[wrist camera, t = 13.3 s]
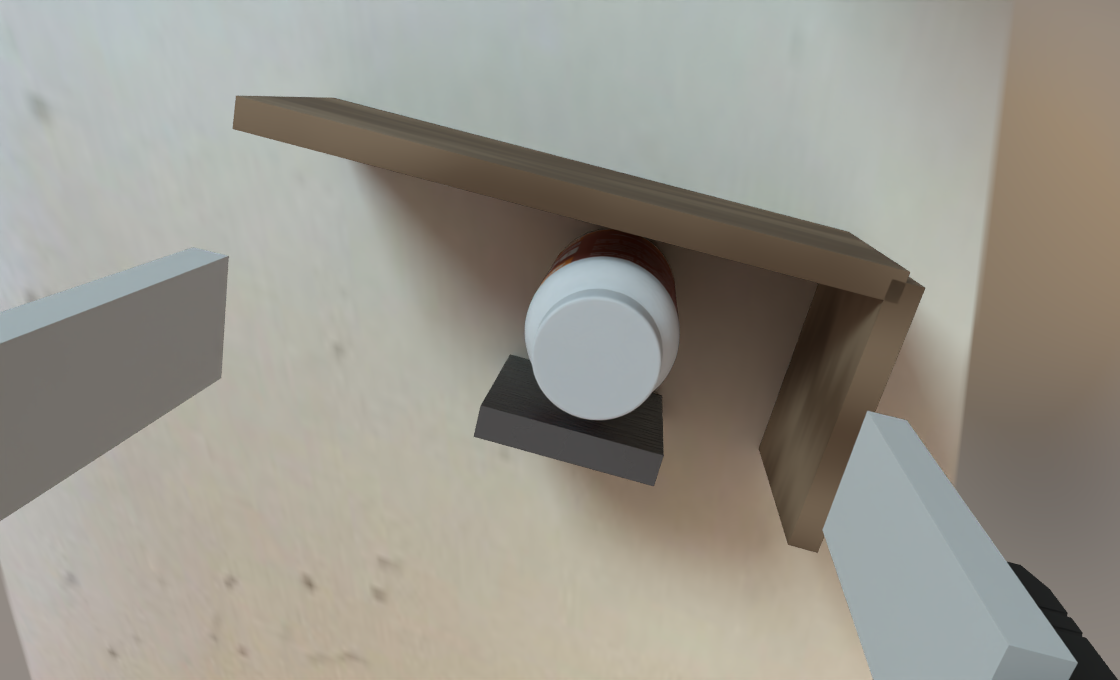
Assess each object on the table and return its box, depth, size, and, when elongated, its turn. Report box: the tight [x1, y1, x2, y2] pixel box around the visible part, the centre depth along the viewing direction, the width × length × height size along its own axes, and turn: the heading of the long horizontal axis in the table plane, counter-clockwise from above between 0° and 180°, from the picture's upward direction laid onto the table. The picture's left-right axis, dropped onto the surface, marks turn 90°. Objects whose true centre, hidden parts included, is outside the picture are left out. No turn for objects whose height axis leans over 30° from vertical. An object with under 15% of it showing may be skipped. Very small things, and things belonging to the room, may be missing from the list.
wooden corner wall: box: [233, 96, 925, 553], centre depth 34 cm, size 12×26×9 cm, turn 76°
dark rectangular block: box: [474, 355, 664, 486], centre depth 36 cm, size 2×8×7 cm, turn 76°
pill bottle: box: [525, 229, 680, 420], centre depth 32 cm, size 6×6×11 cm
